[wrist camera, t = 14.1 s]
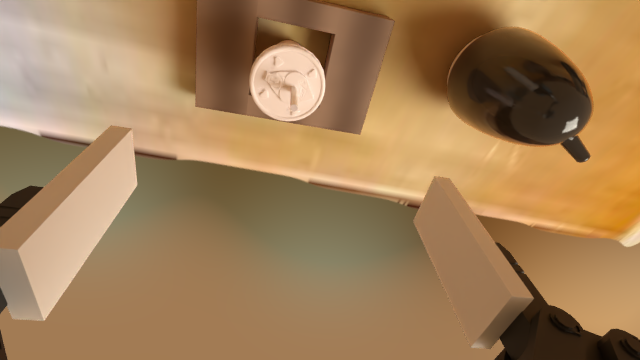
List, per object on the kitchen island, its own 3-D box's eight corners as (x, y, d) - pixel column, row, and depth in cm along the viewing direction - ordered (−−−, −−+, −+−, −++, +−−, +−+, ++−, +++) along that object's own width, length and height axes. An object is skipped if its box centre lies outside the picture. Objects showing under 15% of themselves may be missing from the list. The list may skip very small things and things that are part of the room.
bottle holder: (201, 96, 37) (195, 106, 35) (205, -27, 31) (197, -26, 29) (356, 123, 40) (360, 134, 38) (387, 16, 34) (394, 21, 32)
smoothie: (303, 97, 38) (308, 156, 27) (249, 72, 36) (229, 125, 25) (328, 43, 35) (347, 84, 24) (272, 13, 33) (261, 41, 22)
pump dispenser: (463, 129, 42) (536, 203, 29) (417, 69, 37) (480, 125, 25) (540, 72, 39) (661, 127, 26) (500, -3, 34) (623, 20, 21)
